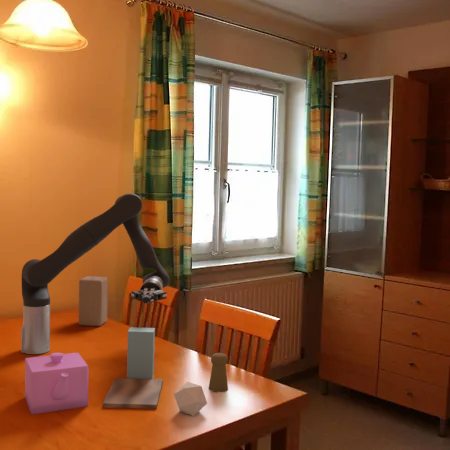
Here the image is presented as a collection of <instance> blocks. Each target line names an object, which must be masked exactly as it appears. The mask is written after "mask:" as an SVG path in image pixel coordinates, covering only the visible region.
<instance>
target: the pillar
mask: <svg viewBox="0 0 450 450" xmlns="http://www.w3.org/2000/svg"><path fill="white" fill-rule="evenodd" d="M155 338H156V328H155V327H134V326H131V327H129V329H128V330H127V355H126V356H127V359H126V361H127V363H126V378H136V379H154V377H155V343H156V341H155V340H156V339H155Z"/></svg>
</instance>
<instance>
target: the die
mask: <svg viewBox="0 0 450 450" xmlns="http://www.w3.org/2000/svg"><path fill="white" fill-rule="evenodd" d="M173 395H174V398H175V401H176V404H177V407H178V411H179V412H181V413H183V414H186V415H190V416H192V417H195V416H196V415H197V414H198V413H199V412H200V411H201V410H202V409H203V408H204V407H205V406H206V405H207V404H208V401H207V397H206V395H205V393H204V390H203V387H202V385H199V384H196V383H194V382H189V381H187V382H186V383H184V384H183V385H182V386H181V387H179V389H178V390H177V391H175V392H174V393H173Z"/></svg>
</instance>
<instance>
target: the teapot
mask: <svg viewBox="0 0 450 450" xmlns="http://www.w3.org/2000/svg"><path fill="white" fill-rule="evenodd" d="M24 359H25V360H24V372H25V374H24V389H25V390H24V397H25V401H26V404H27V406H28V409H29V413H30V415H40V414H44V413H51V412H58V411H65V410H70V409H72V410H73V409H79V408H85V407H88V406H89V365H88V364H87V363H86V361H85V360H84V359H83V357H82V355H80V353H79V352H69V353H62V352H52V353H50V354H49V355H41V356H40V355H39V356H33V357H25V358H24Z"/></svg>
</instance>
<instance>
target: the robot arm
mask: <svg viewBox="0 0 450 450" xmlns="http://www.w3.org/2000/svg"><path fill="white" fill-rule="evenodd" d="M142 201H143V200H142V199H141V197H140V196H139V195H137V194H135V193H126V194H123V195H121V196H119V197H117V199H116V200H115V202H114V204H113V205H112V206H111V207H110V208H108V209H107V210H106V211H104V212H103V213H101V214H99V215H97V216H95V217H93V218H92V219H89V220H88V221H86V222H85V223H83V224H82V225H80V226H78V228H76V229H75V230H73V231H72V232H71V233H70V234H69V235H67V237H66V238H65V239H64V240H63V242H62V243H61V244H60V245H59V246H58V248H57V249H55V250H54V251H53V252H51V253H50V254H49V255H47V256H46V257H44V258H42V259H29V260H28V261H26V262H25V264H24V265H23V266H22V269H21V296H22V302H23V304H22V308H23V309H22V313H23V316H22V318H23V319H22V321H23V322H22V326H20V327H21V329H20V337H21V338H20V344H21V345H20V353H23V354H27V355H41V354H46V353H48V352H49V351H50V350H51V349H50V347H51V341H50V340H51V296H50V293H49V286H48V285H49V284H50V283H51V282H52V281H53V280H54V279H55V278H56V277H57V276H59V274H61V273H62V272H63V271H64V270H65V269H66V268H67V267H69V266H70V265H72V264H73V263H74V262H75V261H78V260H79V259H80V258H81V257H83V256H84V255H85V254H86V253H88V252H89V251H91V250H93V249H94V248H95V247H96V246H97V245H99V244H100V243H101V242H103V240H104V239H105V238H107V237H108V236H109V235H110V234H111V233H112V232H114V231H115V230H116V229H117V228H119V226H121V225H123V227H124V229H125V231H126V233H127V235H128V237H129V239H130V241H131V244H132V246H133V249H134V252H135V254H136V256H137V260H138V263H139V264H140V267H141V268H142V269H144V270H145V269H154V270H155V271H154V272H151V273H149V274H146V275H144V276H143V277H142V285H141V286H140V289H139V290H131V291H130V293H131V294H130V295H131V296H130V297H131V298H130V299H133V300H136V301H138V302H141V301H142V303H143V304H149V303H154V302H158V301H161V300H166V299H167V295H168V294H167V291H166V290H164V291H163V289H164V288H166V287H167V288H168V287H169V285H170V284H171V283H170V282H171V279H170V276H169V274H168V273H167V271H166V270H165V269H164V267H163V266H162V264H161V263H160V261H159V259H158V256H157V255H156V252H155V249H154V246H153V244H152V243H151V240H150V239H149V237H148V236H147V234H146V233H145V231H144V229H143V227H142V225H141V222H140V219H139V216H138V215H139V214H140V212H141V211H142V209H143V202H142Z"/></svg>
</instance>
